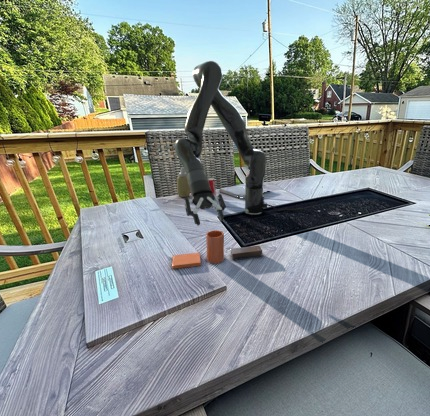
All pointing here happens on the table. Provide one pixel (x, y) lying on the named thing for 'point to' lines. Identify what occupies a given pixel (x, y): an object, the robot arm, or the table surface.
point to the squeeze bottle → (182, 184)
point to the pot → (215, 246)
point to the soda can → (212, 185)
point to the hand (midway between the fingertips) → (210, 222)
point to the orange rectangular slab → (186, 260)
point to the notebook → (234, 191)
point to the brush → (246, 252)
